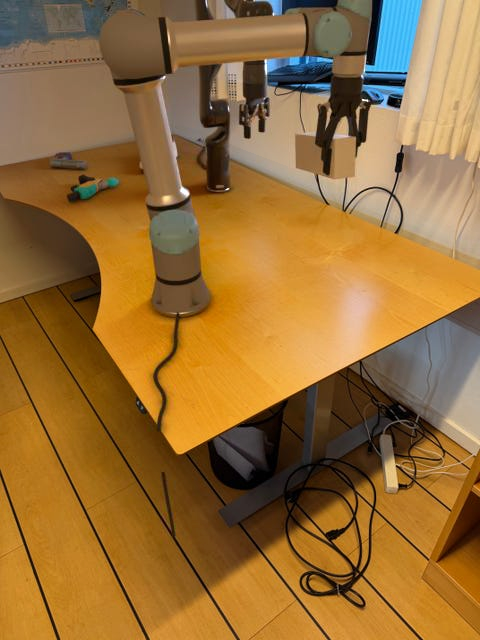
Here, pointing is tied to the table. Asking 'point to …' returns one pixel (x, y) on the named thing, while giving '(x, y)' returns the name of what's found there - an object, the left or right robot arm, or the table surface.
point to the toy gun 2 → (90, 187)
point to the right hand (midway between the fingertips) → (254, 135)
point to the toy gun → (66, 161)
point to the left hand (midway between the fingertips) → (337, 171)
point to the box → (340, 159)
